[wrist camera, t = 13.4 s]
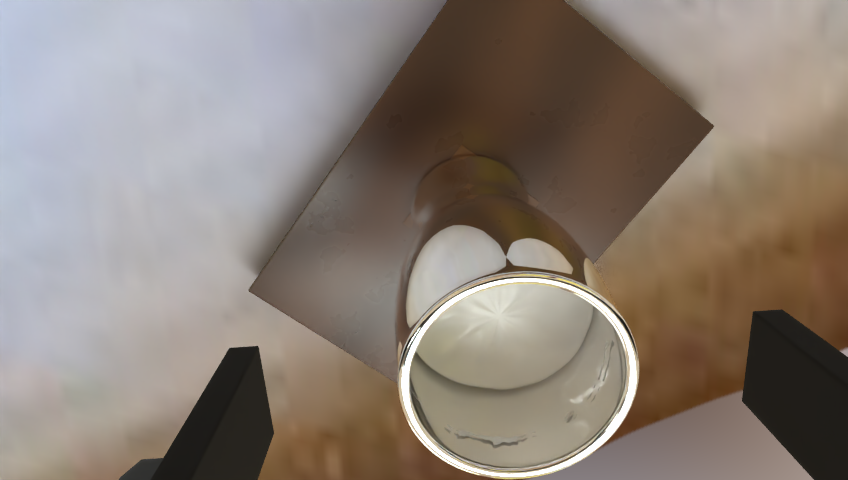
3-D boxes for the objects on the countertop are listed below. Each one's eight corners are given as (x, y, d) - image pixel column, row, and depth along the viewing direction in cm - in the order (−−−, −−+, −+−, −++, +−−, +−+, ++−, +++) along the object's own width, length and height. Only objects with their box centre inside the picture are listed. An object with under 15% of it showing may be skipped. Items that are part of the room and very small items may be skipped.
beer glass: (440, 121, 28) (465, 219, 14) (563, 183, 29) (700, 332, 15) (379, 242, 30) (347, 432, 16) (496, 296, 31) (561, 517, 17)
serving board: (257, 276, 33) (247, 291, 31) (485, -55, 28) (490, -62, 26) (454, 400, 36) (456, 421, 34) (697, 121, 30) (715, 126, 29)
